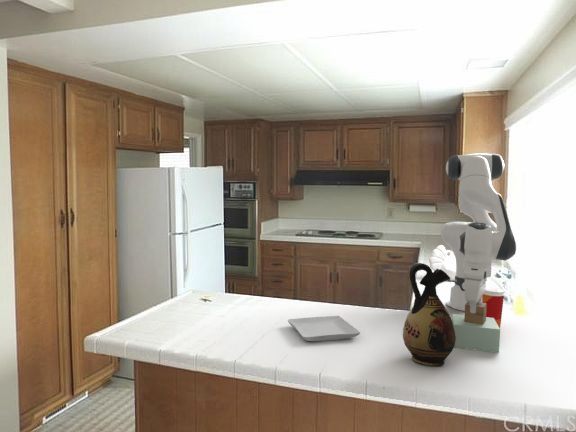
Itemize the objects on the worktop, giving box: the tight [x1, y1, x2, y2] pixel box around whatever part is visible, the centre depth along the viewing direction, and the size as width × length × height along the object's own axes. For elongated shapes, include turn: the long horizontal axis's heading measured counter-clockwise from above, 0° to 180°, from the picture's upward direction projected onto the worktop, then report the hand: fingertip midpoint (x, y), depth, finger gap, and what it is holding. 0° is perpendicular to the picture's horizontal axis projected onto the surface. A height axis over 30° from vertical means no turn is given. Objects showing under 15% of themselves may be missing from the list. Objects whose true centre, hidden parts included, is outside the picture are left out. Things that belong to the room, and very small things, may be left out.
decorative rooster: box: [428, 244, 456, 282], centre depth 265 cm, size 25×16×25 cm, turn 94°
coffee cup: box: [482, 287, 506, 329], centre depth 170 cm, size 8×8×15 cm
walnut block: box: [464, 302, 486, 325], centre depth 153 cm, size 6×6×6 cm
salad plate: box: [287, 315, 361, 342], centre depth 160 cm, size 21×21×3 cm
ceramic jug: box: [402, 262, 456, 367], centre depth 135 cm, size 17×15×30 cm
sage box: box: [451, 313, 501, 353], centre depth 153 cm, size 14×14×8 cm
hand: (475, 310), depth 153 cm, fingers open, 7 cm apart
